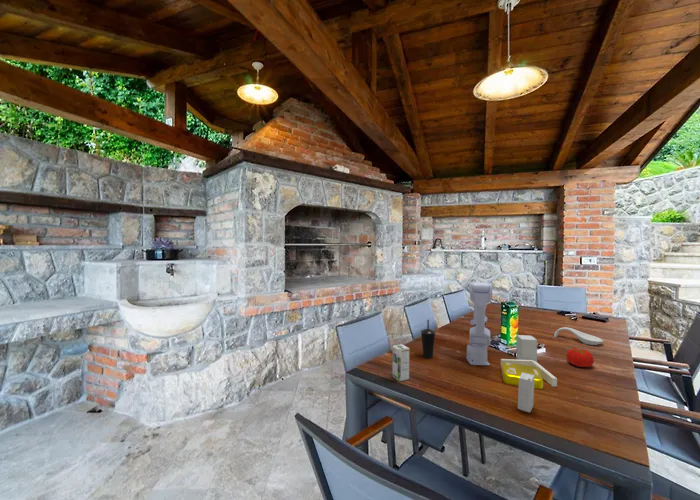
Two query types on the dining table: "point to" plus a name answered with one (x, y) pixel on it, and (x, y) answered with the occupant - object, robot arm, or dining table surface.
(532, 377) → the skincare box
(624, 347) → the dining table surface
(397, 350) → the syrup box
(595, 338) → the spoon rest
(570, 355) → the tomato
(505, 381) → the element tile
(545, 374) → the white l-shaped strip
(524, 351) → the supplement box
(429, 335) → the drinking cup
